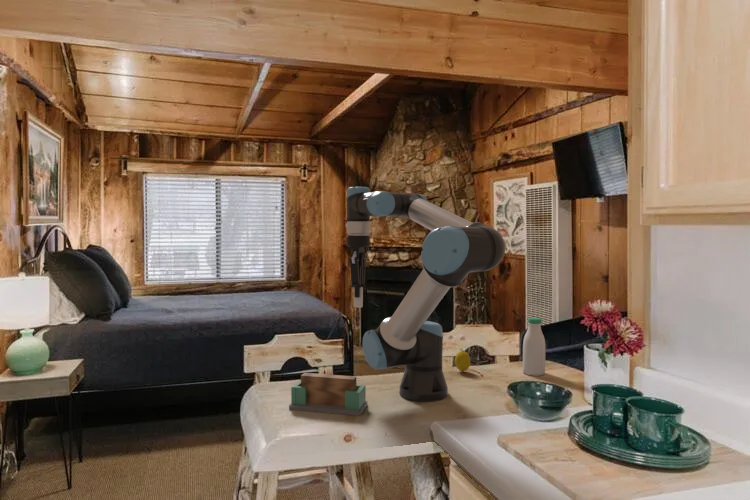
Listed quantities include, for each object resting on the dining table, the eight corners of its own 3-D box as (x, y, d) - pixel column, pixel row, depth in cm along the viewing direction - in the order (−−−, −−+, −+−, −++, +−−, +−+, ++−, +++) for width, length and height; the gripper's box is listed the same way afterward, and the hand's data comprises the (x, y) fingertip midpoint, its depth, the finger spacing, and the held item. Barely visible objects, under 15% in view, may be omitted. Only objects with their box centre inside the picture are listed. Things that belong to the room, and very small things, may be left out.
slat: (356, 403, 154) (356, 376, 153) (353, 407, 151) (353, 379, 150) (304, 399, 158) (304, 372, 157) (301, 402, 155) (300, 375, 154)
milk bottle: (547, 376, 186) (548, 320, 185) (525, 376, 186) (526, 320, 186) (541, 370, 194) (542, 316, 193) (520, 370, 194) (521, 316, 193)
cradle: (367, 405, 156) (367, 384, 156) (359, 415, 147) (359, 393, 147) (300, 399, 161) (300, 379, 161) (289, 409, 152) (289, 388, 152)
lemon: (451, 372, 191) (452, 350, 191) (460, 369, 195) (460, 347, 195) (464, 375, 188) (464, 352, 187) (473, 372, 192) (473, 350, 191)
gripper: (352, 234, 179) (352, 303, 180) (341, 235, 166) (341, 309, 167) (374, 234, 177) (374, 304, 178) (364, 235, 164) (364, 310, 165)
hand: (358, 306), depth 173 cm, fingers closed
